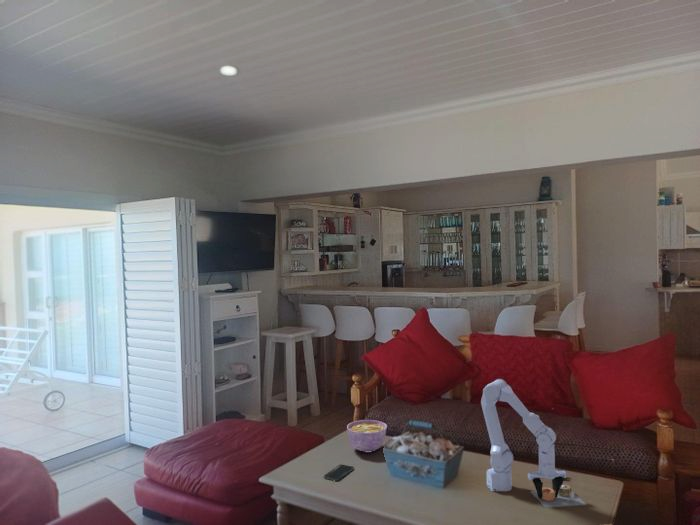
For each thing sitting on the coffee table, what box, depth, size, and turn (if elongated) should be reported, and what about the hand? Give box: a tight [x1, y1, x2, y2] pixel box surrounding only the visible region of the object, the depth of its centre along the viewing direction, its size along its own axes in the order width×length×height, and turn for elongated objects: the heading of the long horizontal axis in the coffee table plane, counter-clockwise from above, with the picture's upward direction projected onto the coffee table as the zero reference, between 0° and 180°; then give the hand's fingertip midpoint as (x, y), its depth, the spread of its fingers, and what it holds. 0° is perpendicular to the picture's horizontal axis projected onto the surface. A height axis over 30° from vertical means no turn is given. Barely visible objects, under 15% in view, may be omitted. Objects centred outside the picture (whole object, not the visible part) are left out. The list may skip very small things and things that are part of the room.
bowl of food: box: [346, 419, 388, 452], centre depth 257 cm, size 20×20×12 cm
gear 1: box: [542, 487, 555, 501], centre depth 198 cm, size 6×6×3 cm
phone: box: [323, 464, 355, 482], centre depth 229 cm, size 8×1×15 cm
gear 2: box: [558, 483, 572, 497], centre depth 201 cm, size 6×6×4 cm
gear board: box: [530, 485, 587, 509], centre depth 198 cm, size 16×13×4 cm
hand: (547, 496), depth 198 cm, fingers closed on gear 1, 5 cm apart
